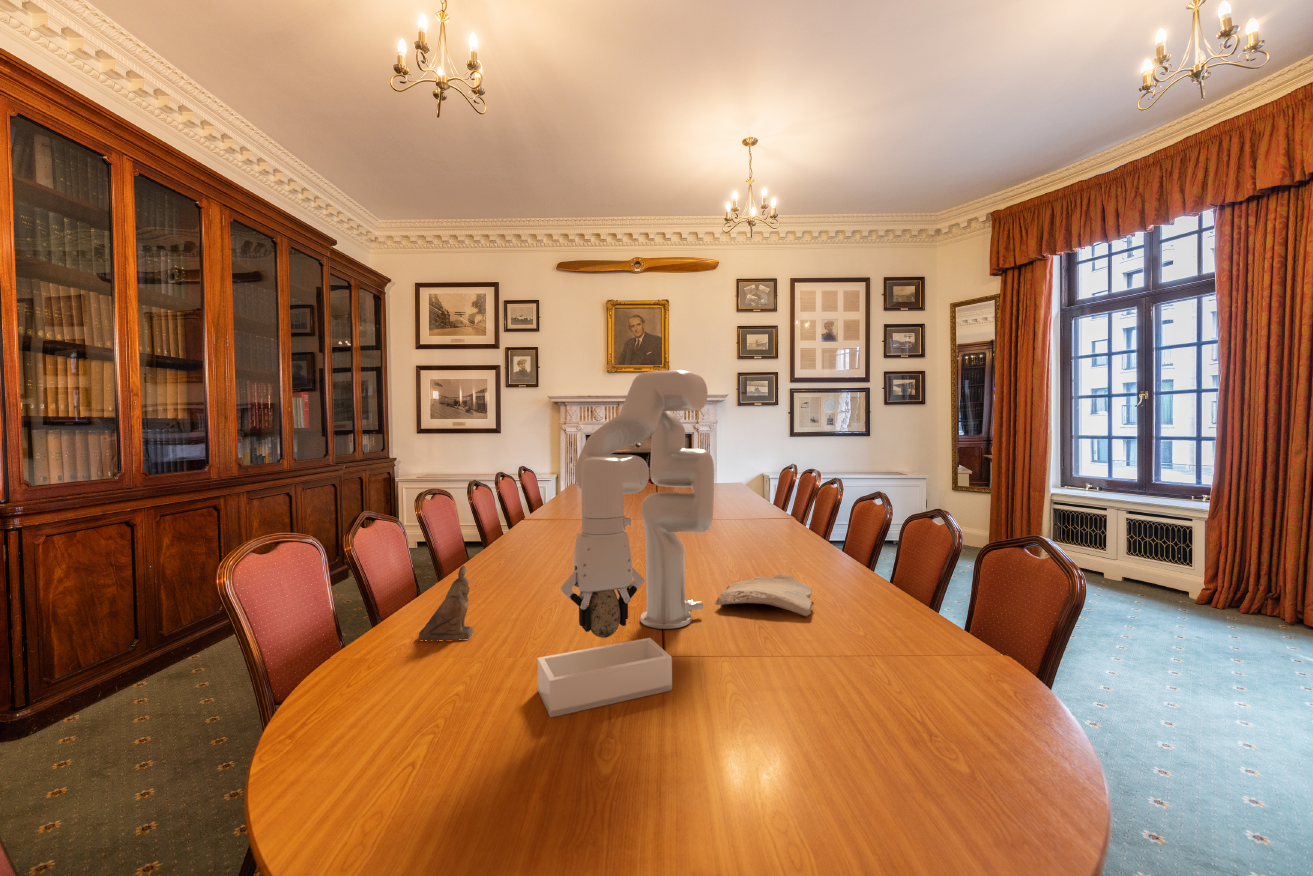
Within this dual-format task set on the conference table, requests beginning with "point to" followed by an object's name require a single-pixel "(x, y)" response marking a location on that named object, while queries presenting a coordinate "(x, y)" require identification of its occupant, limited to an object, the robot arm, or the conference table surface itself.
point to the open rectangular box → (603, 676)
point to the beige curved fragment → (770, 593)
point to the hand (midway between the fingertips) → (603, 625)
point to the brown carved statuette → (450, 614)
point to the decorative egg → (604, 613)
